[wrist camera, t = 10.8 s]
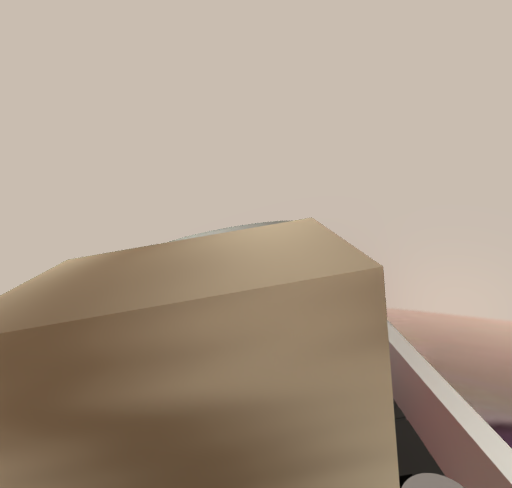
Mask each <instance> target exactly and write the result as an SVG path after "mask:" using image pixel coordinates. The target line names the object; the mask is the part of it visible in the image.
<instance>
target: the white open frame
mask: <svg viewBox="0 0 512 488" xmlns="http://www.w3.org/2000/svg"><path fill="white" fill-rule="evenodd" d="M387 325H388V338H389V351H390V364H391V378H392V391H393V399H394V400H395V402H396V403H397V405H398V407H399V408H400V409H401V411H402V412H403V413H404V415H405V416H406V419H407V420H408V421H409V422H410V424H411V425H412V427H413V428H414V430H415V431H416V433H417V434H418V436H419V437H420V439H421V440H422V442H423V443H424V445H425V446H426V448H427V449H428V451H429V452H430V454H431V455H432V457H433V458H434V460H435V461H436V463H437V464H438V466H439V467H440V469H441V470H442V472H443V473H444V474H445V476H446V477H448V478H450V479H452V480H454V481H456V482H458V483H459V484H461V485H462V486H463V487H465V488H512V448H511V447H510V446H509V445H508V444H507V443H506V442H505V441H504V440H503V439H502V438H501V437H500V436H499V435H498V434H497V433H496V432H495V431H494V430H493V429H492V428H491V427H490V426H489V425H488V424H487V423H486V422H485V420H484V419H483V418H482V417H481V416H480V415H479V414H478V413H477V412H476V411H475V410H474V409H473V408H472V407H471V406H470V405H469V404H468V403H467V402H466V401H465V400H464V399H463V398H462V397H461V396H460V395H459V394H458V393H457V392H456V390H455V389H454V388H453V387H452V386H451V385H450V384H449V383H448V382H447V381H446V380H445V379H444V378H443V377H442V376H441V375H440V374H439V373H438V372H437V371H436V370H435V369H434V368H433V367H432V366H431V365H430V364H429V363H428V362H427V360H426V359H425V358H424V357H423V356H422V355H421V354H420V353H419V352H418V351H417V350H416V349H415V348H414V347H413V346H412V345H411V344H410V343H409V342H408V341H407V340H406V339H405V338H404V337H403V336H402V335H401V334H400V333H399V332H398V330H397V329H396V328H395V327H394V326H393V325H392V324H391V323H390V322H389V321H388V320H387Z"/></svg>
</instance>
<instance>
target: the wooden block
mask: <svg viewBox="0 0 512 488" xmlns="http://www.w3.org/2000/svg"><path fill="white" fill-rule="evenodd" d="M0 488H400V484H399V470H398V457H397V444H396V431H395V417H394V404H393V391H392V378H391V364H390V351H389V338H388V325H387V312H386V298H385V286H384V272H383V266H382V265H380V264H379V263H377V262H376V261H374V260H373V259H371V258H370V257H369V256H367V255H365V254H364V253H363V252H361V251H360V250H358V249H357V248H355V247H354V246H353V245H351V244H350V243H348V242H347V241H345V240H344V239H342V238H341V237H339V236H338V235H337V234H335V233H334V232H332V231H331V230H329V229H328V228H326V227H325V226H324V225H322V224H321V223H319V222H318V221H316V220H315V219H313V218H306V219H300V220H295V221H289V222H283V223H277V224H271V225H266V226H260V227H254V228H248V229H242V230H237V231H231V232H225V233H219V234H214V235H208V236H202V237H196V238H190V239H185V240H179V241H173V242H167V243H162V244H156V245H150V246H144V247H139V248H133V249H127V250H121V251H115V252H110V253H104V254H98V255H92V256H86V257H81V258H75V259H69V260H66V261H64V262H62V263H61V264H59V265H57V266H55V267H53V268H51V269H49V270H47V271H46V272H44V273H42V274H40V275H38V276H36V277H34V278H32V279H30V280H29V281H27V282H25V283H23V284H21V285H19V286H17V287H16V288H14V289H12V290H10V291H8V292H6V293H4V294H2V295H0Z"/></svg>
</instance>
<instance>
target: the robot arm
mask: <svg viewBox="0 0 512 488" xmlns="http://www.w3.org/2000/svg"><path fill="white" fill-rule="evenodd" d="M393 404H394V417H395V431H396V444H397V457H398V470H399V484H400V488H465V487H463V486H462V485H461V484H459V483H458V482H456V481H454V480H452V479H450V478H448V477H446V476H445V474H444V473H443V472H442V470H441V469H440V467H439V466H438V464H437V463H436V461H435V460H434V458H433V457H432V455H431V454H430V452H429V451H428V449H427V448H426V446H425V445H424V443H423V442H422V440H421V439H420V437H419V436H418V434H417V433H416V431H415V430H414V428H413V427H412V425H411V424H410V422H409V421H408V420H407V419H406V416H405V415H404V413H403V412H402V411H401V409H400V408H399V407H398V405H397V403H396V402H395V400H394V399H393Z"/></svg>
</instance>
